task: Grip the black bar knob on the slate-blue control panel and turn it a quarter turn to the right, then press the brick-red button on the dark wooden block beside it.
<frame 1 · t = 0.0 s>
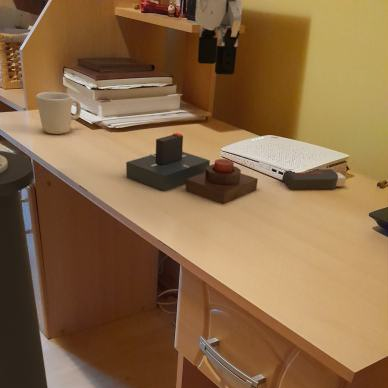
hand: (215, 68, 89), 21 cm above the table, tool pointing down, fingers open, 9 cm apart
usb drive: (313, 185, 106), on the table
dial: (169, 148, 102), point 5 cm above the table, hinge at 0.0°
button: (223, 166, 98), point 5 cm above the table, slide at 0.2 cm
panel: (168, 176, 105), on the table
button block: (221, 190, 100), on the table
cup: (62, 131, 126), on the table
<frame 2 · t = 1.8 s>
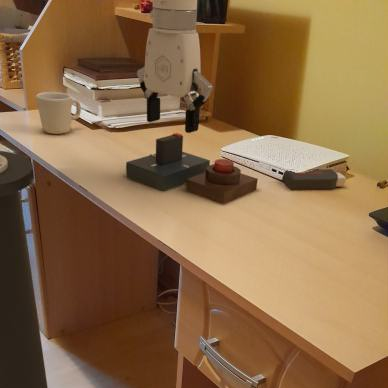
hand: (172, 126, 99), 10 cm above the table, tool pointing down, fingers open, 9 cm apart
nothing on the table moved.
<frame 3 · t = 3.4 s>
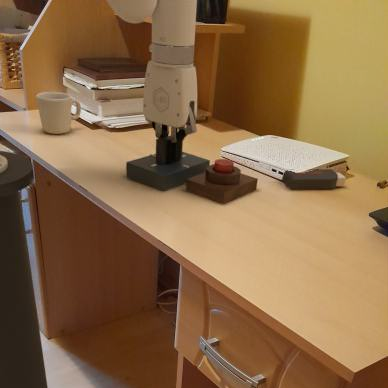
hand: (169, 159, 103), 3 cm above the table, tool pointing down, fingers closed on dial, 2 cm apart
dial: (169, 148, 102), point 5 cm above the table, hinge at 0.0°, touching gripper
everything else where it was.
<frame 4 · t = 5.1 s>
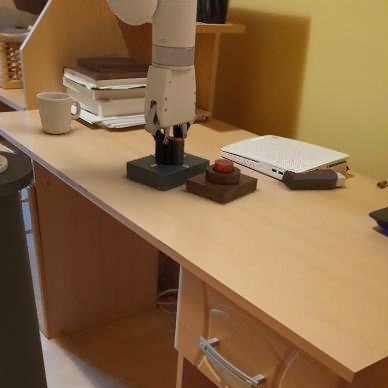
hand: (170, 159, 103), 3 cm above the table, tool pointing down, fingers open, 3 cm apart
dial: (169, 148, 102), point 5 cm above the table, hinge at -89.9°
everything else where it was.
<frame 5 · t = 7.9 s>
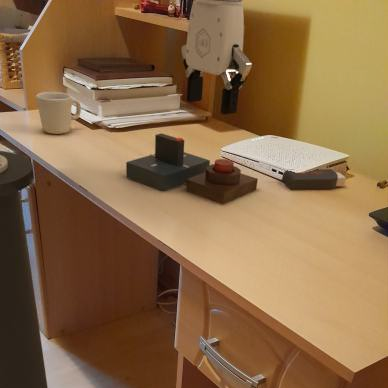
hand: (210, 107, 93), 14 cm above the table, tool pointing down, fingers open, 9 cm apart
nothing on the table moved.
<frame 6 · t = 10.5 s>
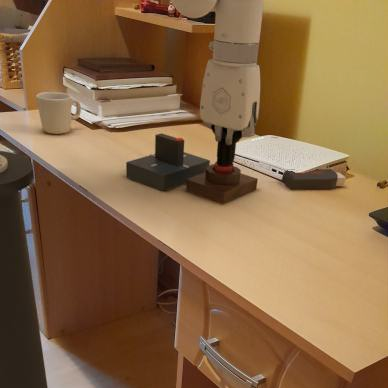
hand: (224, 163, 97), 5 cm above the table, tool pointing down, fingers closed
button: (223, 168, 98), point 4 cm above the table, slide at -0.2 cm, touching gripper
everything else where it was.
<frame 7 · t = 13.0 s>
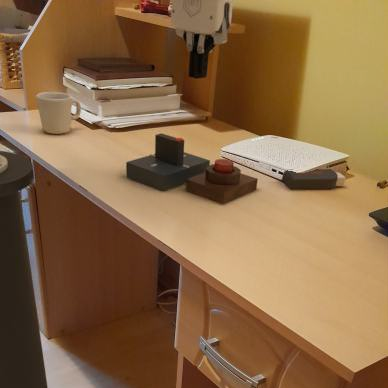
hand: (197, 77, 93), 19 cm above the table, tool pointing down, fingers closed
button: (223, 166, 98), point 5 cm above the table, slide at 0.2 cm
everything else where it was.
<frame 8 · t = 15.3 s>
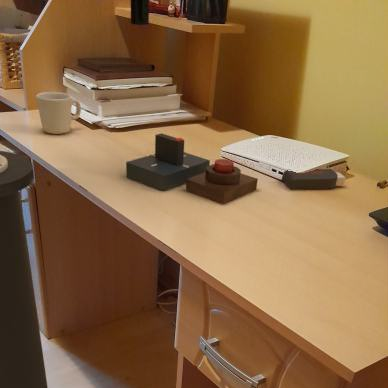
hand: (139, 24, 97), 25 cm above the table, tool pointing down, fingers closed
nothing on the table moved.
at the end: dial at -90° (first picture: +0°); button pushed in 1.1 cm at the most during the clip, back to 0.2 cm at the end; button slide at 0.2 cm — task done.
